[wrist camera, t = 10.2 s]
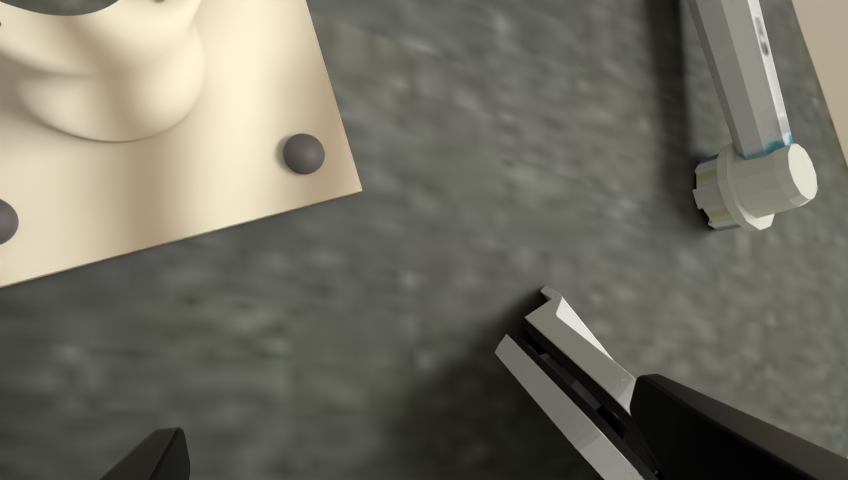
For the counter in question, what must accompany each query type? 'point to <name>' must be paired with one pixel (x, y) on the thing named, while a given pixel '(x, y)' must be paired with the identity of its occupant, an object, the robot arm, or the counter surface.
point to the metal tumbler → (103, 64)
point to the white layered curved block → (580, 390)
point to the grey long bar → (747, 123)
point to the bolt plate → (182, 153)
